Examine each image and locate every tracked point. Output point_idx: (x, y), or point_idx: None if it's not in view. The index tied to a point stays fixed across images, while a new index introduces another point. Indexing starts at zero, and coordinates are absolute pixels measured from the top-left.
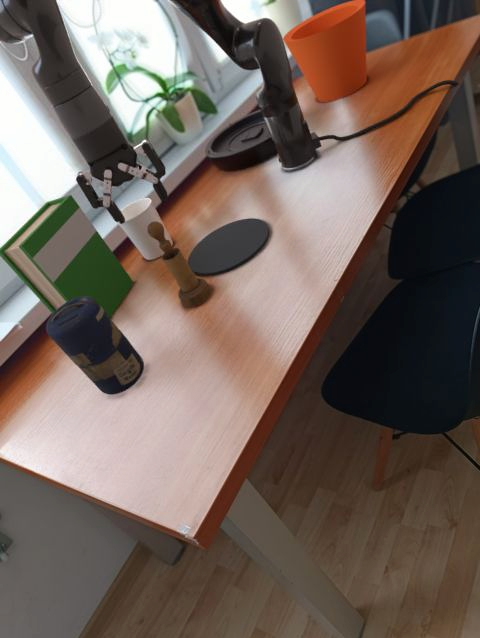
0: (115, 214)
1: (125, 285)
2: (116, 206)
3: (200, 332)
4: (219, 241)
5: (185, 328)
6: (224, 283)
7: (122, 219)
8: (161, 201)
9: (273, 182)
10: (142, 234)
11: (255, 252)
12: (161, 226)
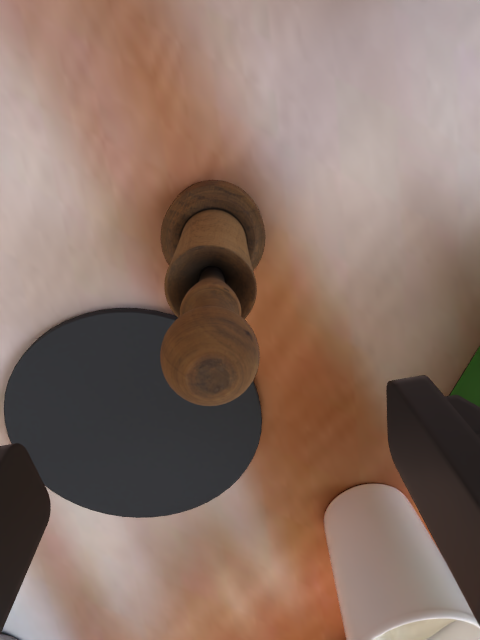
0: (463, 435)
1: (466, 394)
2: (448, 544)
3: (173, 10)
4: (166, 454)
5: (237, 69)
6: (123, 254)
7: (399, 403)
8: (3, 455)
9: (50, 616)
10: (397, 553)
11: (30, 347)
12: (160, 353)
